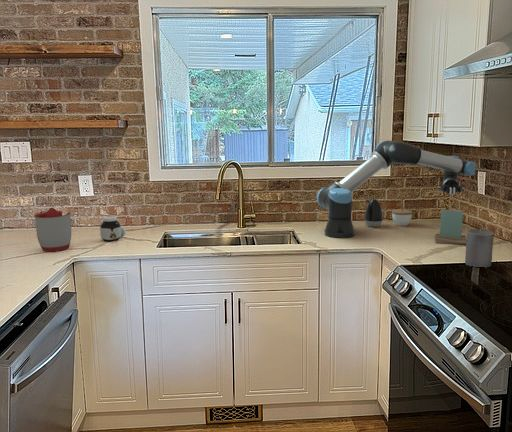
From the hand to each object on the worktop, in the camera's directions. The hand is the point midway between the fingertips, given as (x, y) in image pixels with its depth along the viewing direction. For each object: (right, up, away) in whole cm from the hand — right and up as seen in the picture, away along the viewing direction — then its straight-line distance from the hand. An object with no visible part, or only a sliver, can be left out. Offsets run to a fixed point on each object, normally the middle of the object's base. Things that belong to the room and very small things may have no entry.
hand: (452, 191), depth 240 cm
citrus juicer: (-194, -28, -15) cm, 196 cm away
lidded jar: (-17, -17, +28) cm, 37 cm away
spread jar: (-172, -24, +3) cm, 174 cm away
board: (-4, -24, -8) cm, 26 cm away
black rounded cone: (-34, -18, +25) cm, 46 cm away
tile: (-2, -16, -4) cm, 17 cm away
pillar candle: (-10, -32, -48) cm, 59 cm away
